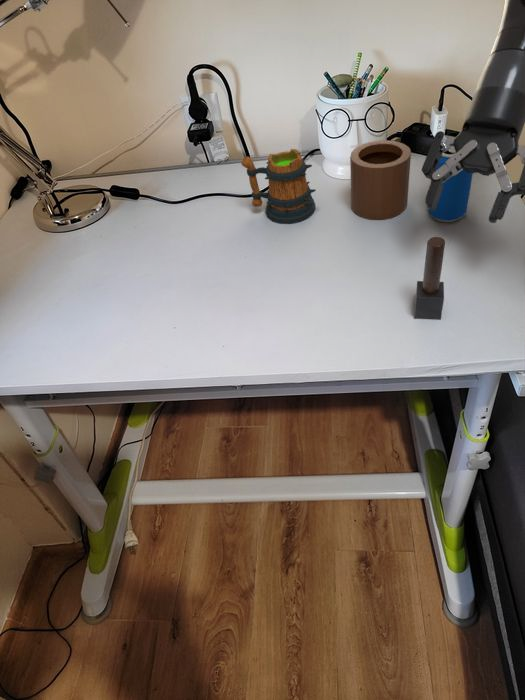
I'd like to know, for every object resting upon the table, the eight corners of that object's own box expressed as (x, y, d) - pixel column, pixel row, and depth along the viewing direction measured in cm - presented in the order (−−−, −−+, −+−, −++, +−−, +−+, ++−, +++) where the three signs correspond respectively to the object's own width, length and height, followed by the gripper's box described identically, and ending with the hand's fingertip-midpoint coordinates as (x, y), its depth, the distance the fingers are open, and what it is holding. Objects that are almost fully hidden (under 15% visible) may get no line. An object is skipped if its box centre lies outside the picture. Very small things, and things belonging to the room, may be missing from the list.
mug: (316, 194, 101) (312, 136, 93) (317, 222, 94) (313, 163, 86) (251, 200, 103) (242, 145, 94) (248, 228, 96) (237, 171, 87)
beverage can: (424, 206, 92) (430, 142, 84) (461, 202, 92) (471, 137, 83) (431, 226, 88) (438, 160, 79) (469, 222, 87) (481, 155, 79)
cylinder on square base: (440, 303, 75) (450, 233, 66) (440, 319, 72) (451, 249, 64) (415, 301, 75) (422, 233, 67) (414, 318, 73) (421, 249, 65)
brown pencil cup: (408, 190, 97) (411, 139, 90) (406, 220, 90) (410, 167, 83) (354, 191, 100) (353, 141, 93) (348, 220, 93) (347, 168, 86)
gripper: (446, 79, 68) (405, 198, 71) (561, 88, 62) (512, 219, 64) (455, 104, 75) (417, 212, 77) (560, 115, 68) (515, 232, 71)
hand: (460, 215), depth 71 cm, fingers open, 8 cm apart
